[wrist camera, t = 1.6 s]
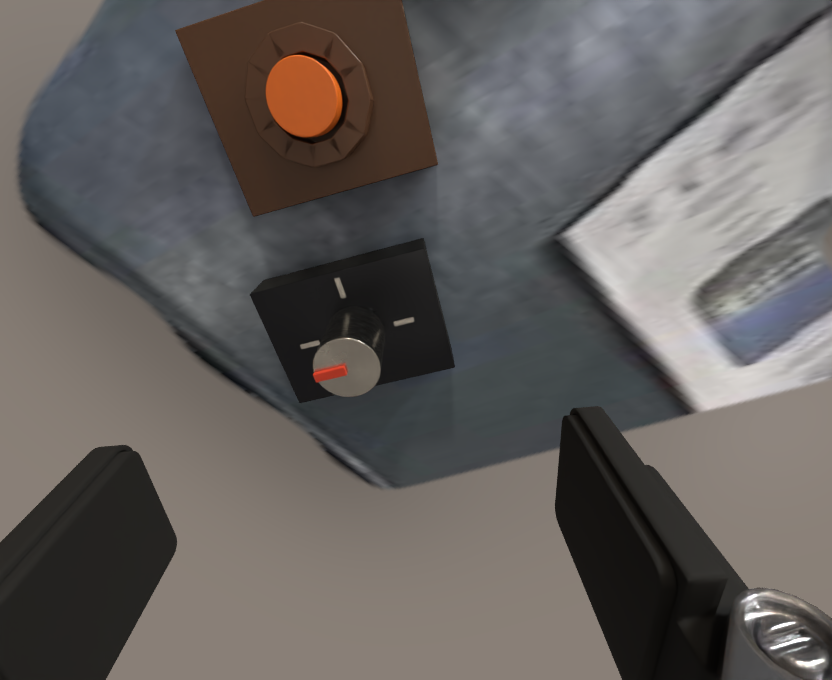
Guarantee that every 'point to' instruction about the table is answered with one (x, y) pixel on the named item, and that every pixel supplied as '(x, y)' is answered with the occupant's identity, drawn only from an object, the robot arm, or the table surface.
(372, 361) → the dial
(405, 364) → the dial panel
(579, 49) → the table surface
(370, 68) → the block
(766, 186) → the table surface
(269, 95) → the button
